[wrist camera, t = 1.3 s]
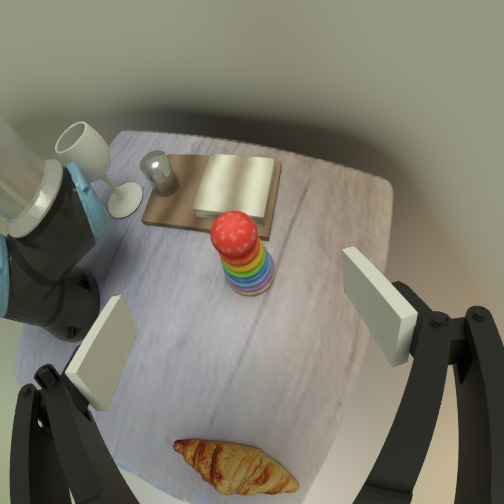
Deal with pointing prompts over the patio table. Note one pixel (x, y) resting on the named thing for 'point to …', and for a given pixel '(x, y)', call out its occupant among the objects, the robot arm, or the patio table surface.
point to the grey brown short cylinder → (160, 173)
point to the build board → (187, 196)
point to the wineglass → (97, 166)
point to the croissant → (236, 468)
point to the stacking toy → (242, 253)
